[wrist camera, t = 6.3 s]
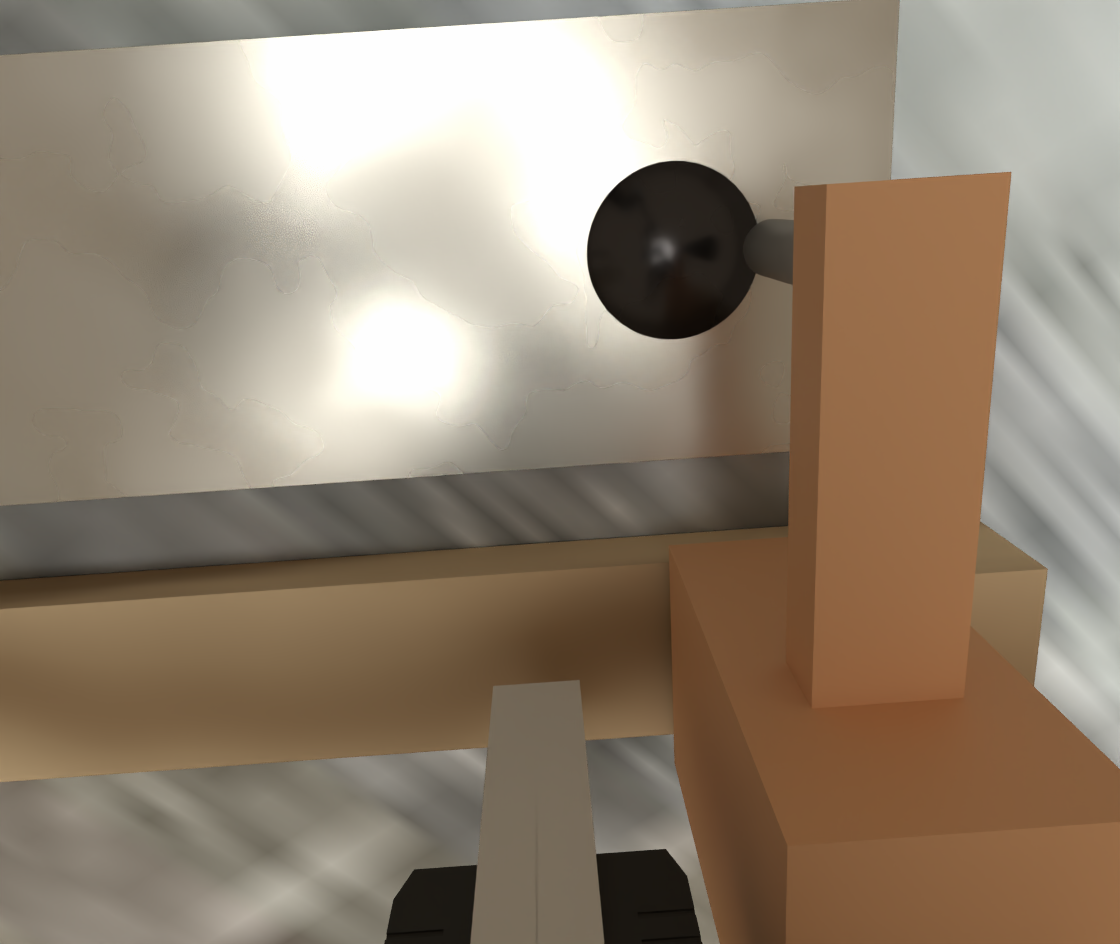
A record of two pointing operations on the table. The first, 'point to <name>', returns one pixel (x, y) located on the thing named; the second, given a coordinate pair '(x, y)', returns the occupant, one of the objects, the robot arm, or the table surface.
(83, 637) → the rail
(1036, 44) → the table surface
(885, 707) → the slider leg
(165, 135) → the hole plate
